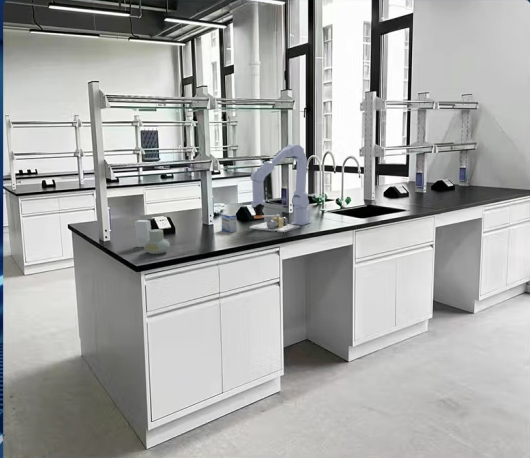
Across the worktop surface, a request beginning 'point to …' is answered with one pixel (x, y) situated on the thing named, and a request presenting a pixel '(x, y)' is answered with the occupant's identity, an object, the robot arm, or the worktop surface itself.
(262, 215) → the lever
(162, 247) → the air freshener
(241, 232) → the worktop surface
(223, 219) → the medicine box
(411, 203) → the worktop surface
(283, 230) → the valve rig
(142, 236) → the skincare box
